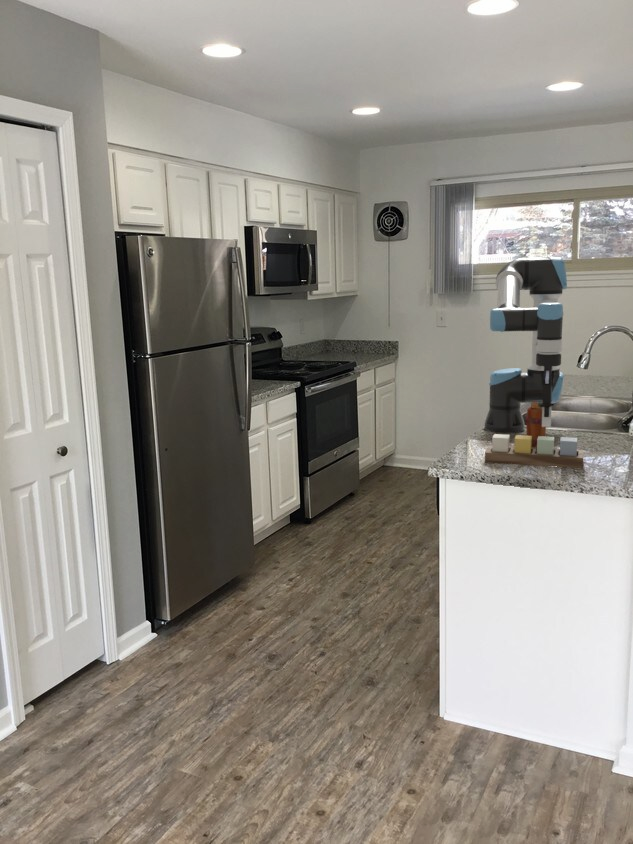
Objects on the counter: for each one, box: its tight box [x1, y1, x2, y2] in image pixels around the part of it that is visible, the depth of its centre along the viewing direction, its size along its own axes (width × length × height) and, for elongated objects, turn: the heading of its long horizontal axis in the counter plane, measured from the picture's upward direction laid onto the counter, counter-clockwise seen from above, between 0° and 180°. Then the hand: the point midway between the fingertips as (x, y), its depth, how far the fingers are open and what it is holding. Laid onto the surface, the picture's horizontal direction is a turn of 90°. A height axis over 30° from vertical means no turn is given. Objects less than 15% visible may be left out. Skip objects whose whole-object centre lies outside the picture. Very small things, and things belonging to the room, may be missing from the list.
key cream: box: [491, 433, 511, 452], centre depth 237 cm, size 5×5×5 cm
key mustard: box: [513, 434, 532, 453], centre depth 235 cm, size 5×5×5 cm
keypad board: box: [484, 444, 584, 470], centre depth 234 cm, size 10×30×4 cm, turn 70°
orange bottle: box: [524, 402, 548, 448], centre depth 252 cm, size 15×8×15 cm, turn 168°
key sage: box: [537, 435, 555, 455], centre depth 232 cm, size 5×5×5 cm
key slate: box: [559, 436, 578, 456], centre depth 230 cm, size 5×5×5 cm
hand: (546, 426), depth 231 cm, fingers closed
